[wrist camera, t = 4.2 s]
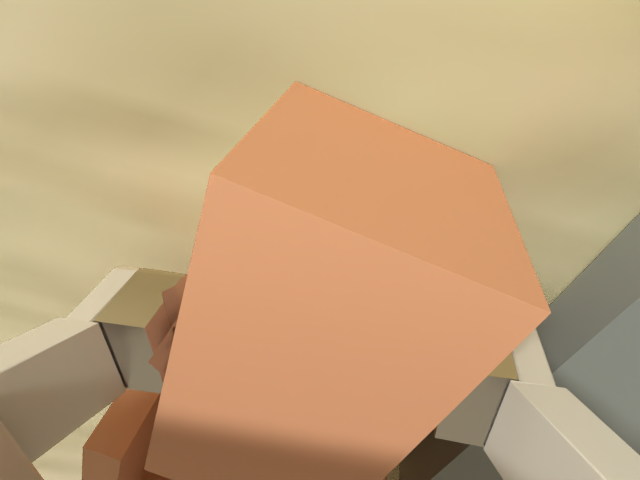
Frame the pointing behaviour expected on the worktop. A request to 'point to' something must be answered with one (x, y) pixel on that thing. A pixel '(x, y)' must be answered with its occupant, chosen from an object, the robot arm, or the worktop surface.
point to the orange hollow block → (327, 305)
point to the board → (572, 360)
